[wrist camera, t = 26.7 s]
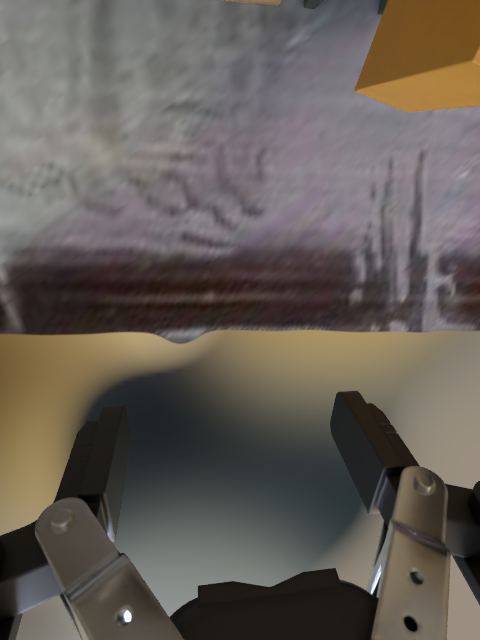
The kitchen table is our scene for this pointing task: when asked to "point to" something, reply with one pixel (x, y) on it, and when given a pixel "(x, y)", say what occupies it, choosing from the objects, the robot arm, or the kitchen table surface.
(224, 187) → the kitchen table surface
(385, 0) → the book rack
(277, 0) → the tall stand
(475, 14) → the book
